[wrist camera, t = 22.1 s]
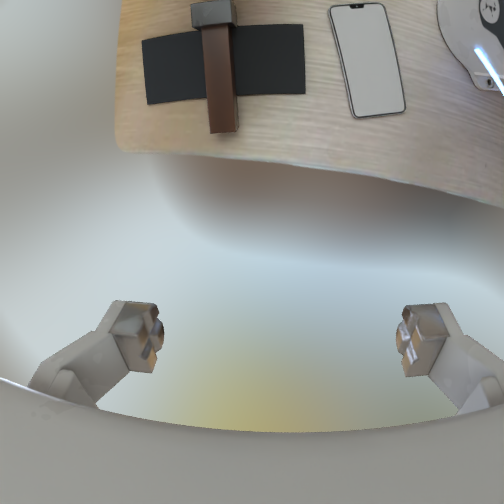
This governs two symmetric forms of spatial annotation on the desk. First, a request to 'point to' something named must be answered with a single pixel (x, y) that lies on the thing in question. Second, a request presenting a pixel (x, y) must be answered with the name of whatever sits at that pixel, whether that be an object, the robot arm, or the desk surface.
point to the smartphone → (368, 59)
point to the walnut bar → (218, 61)
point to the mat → (245, 63)
